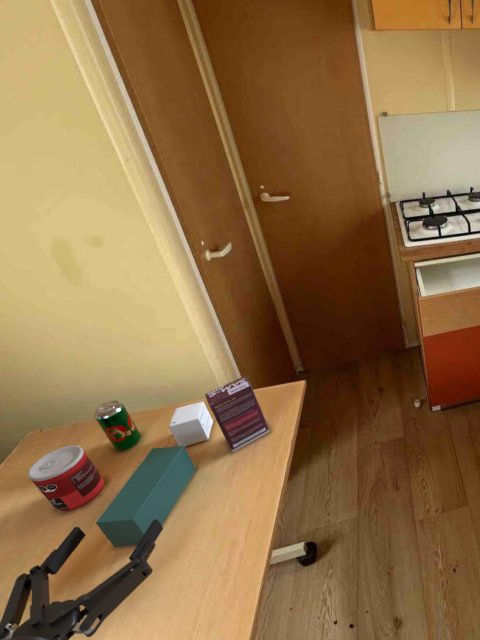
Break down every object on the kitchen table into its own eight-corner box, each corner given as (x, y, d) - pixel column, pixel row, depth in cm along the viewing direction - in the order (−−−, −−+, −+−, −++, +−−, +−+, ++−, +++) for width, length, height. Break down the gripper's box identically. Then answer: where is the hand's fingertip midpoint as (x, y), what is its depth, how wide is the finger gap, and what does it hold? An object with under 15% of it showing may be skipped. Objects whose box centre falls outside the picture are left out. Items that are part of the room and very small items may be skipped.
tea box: (114, 547, 81) (95, 523, 77) (166, 471, 95) (152, 448, 91) (150, 544, 81) (133, 519, 78) (196, 469, 96) (184, 445, 92)
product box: (208, 440, 102) (198, 418, 99) (179, 448, 100) (167, 427, 97) (213, 421, 107) (204, 400, 104) (185, 429, 105) (174, 408, 102)
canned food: (54, 496, 90) (26, 462, 85) (103, 471, 95) (80, 438, 90) (57, 521, 85) (28, 487, 80) (108, 493, 90) (84, 459, 85)
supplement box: (264, 421, 108) (246, 374, 100) (270, 432, 104) (252, 385, 97) (225, 441, 102) (203, 393, 95) (231, 453, 99) (208, 405, 92)
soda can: (129, 433, 104) (108, 398, 99) (147, 435, 104) (127, 400, 98) (109, 450, 100) (86, 414, 94) (128, 453, 99) (105, 417, 94)
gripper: (-70, 703, 60) (57, 545, 79) (116, 680, 62) (197, 532, 81) (-106, 681, 57) (36, 522, 76) (92, 658, 59) (183, 508, 78)
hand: (119, 527), depth 78 cm, fingers open, 13 cm apart
